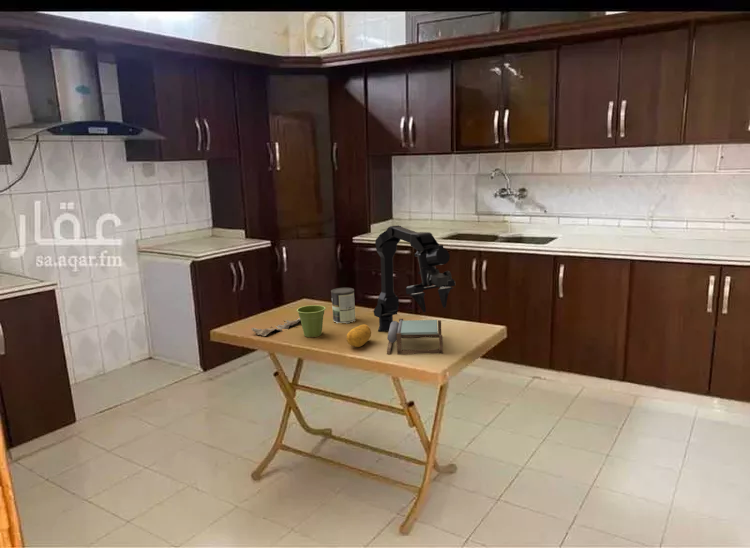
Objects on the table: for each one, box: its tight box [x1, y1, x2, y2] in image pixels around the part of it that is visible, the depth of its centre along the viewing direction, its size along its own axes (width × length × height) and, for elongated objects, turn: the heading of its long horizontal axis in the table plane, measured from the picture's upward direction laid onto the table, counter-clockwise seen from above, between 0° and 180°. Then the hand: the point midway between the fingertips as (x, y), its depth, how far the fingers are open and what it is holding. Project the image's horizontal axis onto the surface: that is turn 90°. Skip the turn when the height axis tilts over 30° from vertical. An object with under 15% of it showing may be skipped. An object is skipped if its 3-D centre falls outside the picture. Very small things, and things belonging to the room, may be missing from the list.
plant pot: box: [296, 304, 326, 338], centre depth 225 cm, size 12×12×11 cm
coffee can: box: [330, 287, 356, 324], centre depth 244 cm, size 10×10×14 cm
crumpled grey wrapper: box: [251, 318, 301, 337], centre depth 242 cm, size 34×10×3 cm, turn 148°
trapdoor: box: [386, 319, 438, 344], centre depth 206 cm, size 16×18×4 cm
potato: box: [346, 323, 372, 348], centre depth 210 cm, size 7×14×7 cm, turn 154°
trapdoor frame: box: [386, 318, 444, 355], centre depth 206 cm, size 20×20×8 cm
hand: (434, 309), depth 197 cm, fingers open, 9 cm apart
